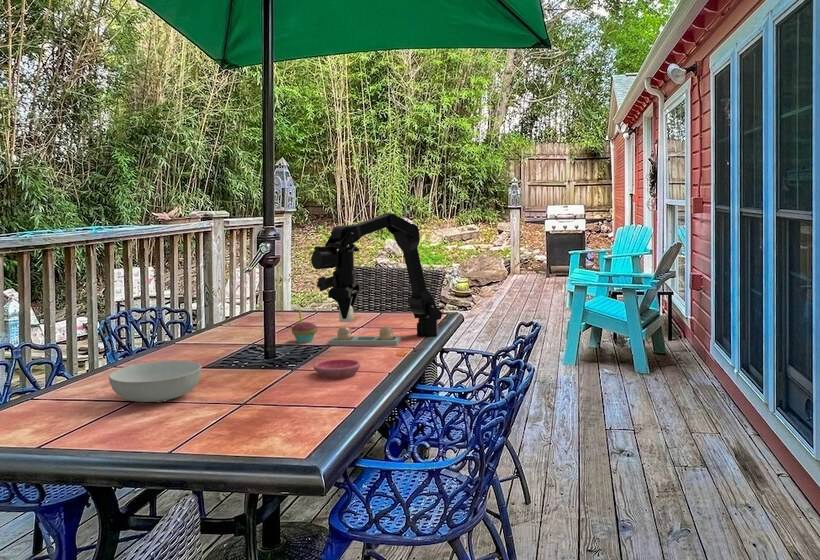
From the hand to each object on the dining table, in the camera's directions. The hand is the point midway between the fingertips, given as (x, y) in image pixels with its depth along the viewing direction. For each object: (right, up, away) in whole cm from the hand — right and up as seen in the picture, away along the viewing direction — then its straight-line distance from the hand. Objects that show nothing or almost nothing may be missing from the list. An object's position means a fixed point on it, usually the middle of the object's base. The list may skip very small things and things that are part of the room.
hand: (346, 317), depth 210 cm
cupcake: (-15, -10, +18) cm, 25 cm away
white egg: (0, -1, 0) cm, 1 cm away
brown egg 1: (-2, -9, +13) cm, 16 cm away
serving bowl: (-41, -17, -46) cm, 64 cm away
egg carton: (+5, -10, +12) cm, 17 cm away
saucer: (0, -14, -27) cm, 30 cm away
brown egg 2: (+12, -9, +11) cm, 19 cm away
